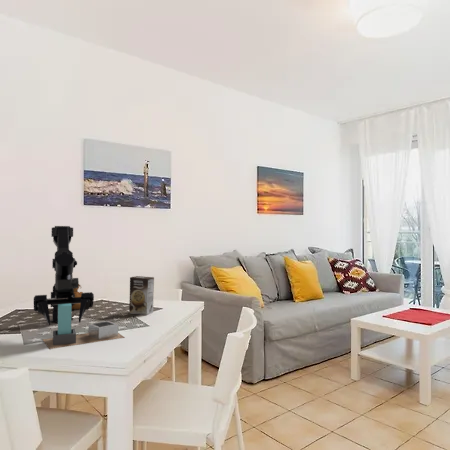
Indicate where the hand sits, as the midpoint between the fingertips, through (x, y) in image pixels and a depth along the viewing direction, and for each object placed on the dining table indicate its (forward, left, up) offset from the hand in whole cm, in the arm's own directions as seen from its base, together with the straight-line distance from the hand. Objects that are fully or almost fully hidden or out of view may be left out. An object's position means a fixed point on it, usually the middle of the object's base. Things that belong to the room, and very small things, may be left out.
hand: (64, 323), depth 128 cm
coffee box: (-50, 0, -7) cm, 51 cm away
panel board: (-6, +3, -7) cm, 10 cm away
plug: (-1, -1, -6) cm, 6 cm away
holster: (-1, -1, -6) cm, 6 cm away
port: (-11, +7, -6) cm, 15 cm away
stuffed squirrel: (-45, -34, -7) cm, 57 cm away
